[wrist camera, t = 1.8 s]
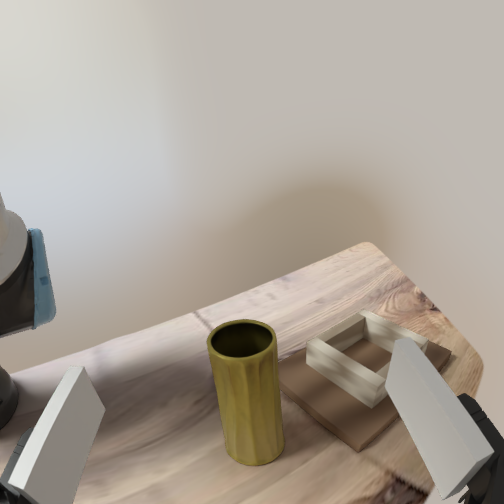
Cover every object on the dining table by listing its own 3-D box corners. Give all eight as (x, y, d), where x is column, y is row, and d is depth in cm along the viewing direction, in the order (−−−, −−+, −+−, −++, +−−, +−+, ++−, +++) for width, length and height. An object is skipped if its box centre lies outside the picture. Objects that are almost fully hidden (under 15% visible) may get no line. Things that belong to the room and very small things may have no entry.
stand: (266, 377, 37) (264, 347, 35) (366, 319, 47) (369, 292, 45) (358, 452, 24) (367, 424, 22) (448, 359, 34) (458, 330, 32)
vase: (237, 417, 31) (220, 312, 26) (291, 427, 29) (290, 320, 24) (216, 458, 25) (185, 355, 21) (275, 472, 23) (269, 370, 19)
